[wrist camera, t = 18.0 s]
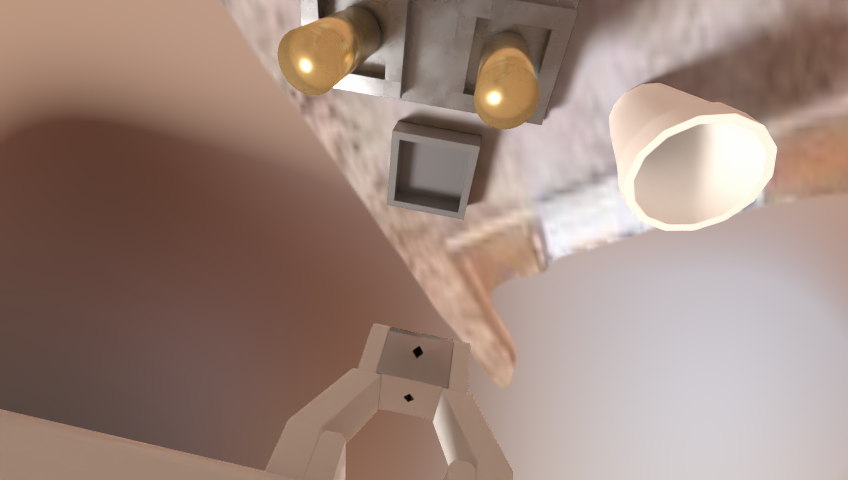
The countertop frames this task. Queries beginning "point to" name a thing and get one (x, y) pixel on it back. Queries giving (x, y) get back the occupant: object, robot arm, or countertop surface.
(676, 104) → the foam cup
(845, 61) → the countertop surface
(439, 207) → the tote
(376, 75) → the fixture plate
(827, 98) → the countertop surface
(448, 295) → the countertop surface
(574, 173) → the countertop surface
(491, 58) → the cylinder
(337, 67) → the billet
